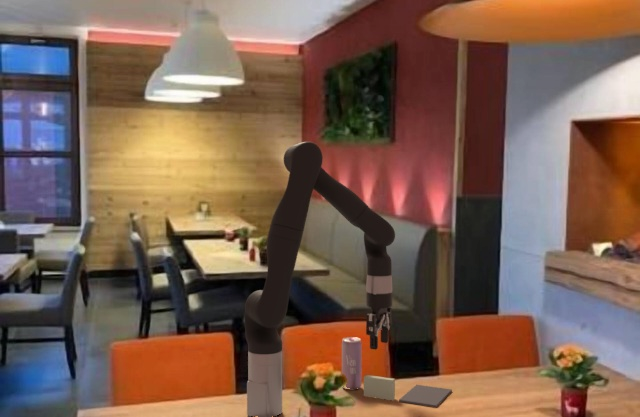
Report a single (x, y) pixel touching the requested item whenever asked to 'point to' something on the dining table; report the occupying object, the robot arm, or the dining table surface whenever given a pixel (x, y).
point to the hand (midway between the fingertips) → (379, 345)
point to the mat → (425, 395)
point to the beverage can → (351, 361)
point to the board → (379, 387)
